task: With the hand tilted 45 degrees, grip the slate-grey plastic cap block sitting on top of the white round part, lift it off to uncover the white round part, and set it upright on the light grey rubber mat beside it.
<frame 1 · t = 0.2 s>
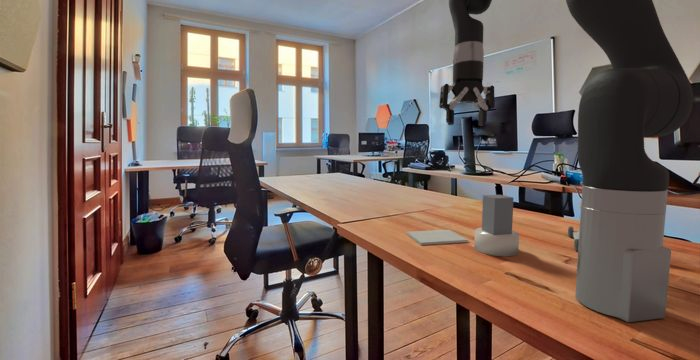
hand: (466, 125, 88), 29 cm above the table, tool pointing down, fingers open, 8 cm apart
cap block: (496, 232, 73), point 4 cm above the table, touching white round part
rubber mat: (435, 237, 83), on the table
white round part: (495, 249, 74), on the table
toy car: (600, 247, 77), on the table
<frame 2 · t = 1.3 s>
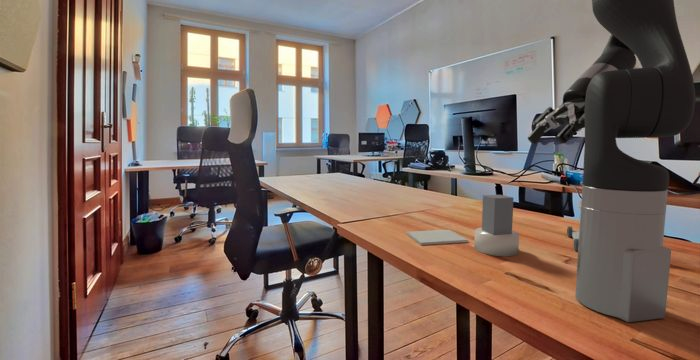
hand: (544, 140, 73), 24 cm above the table, tool tilted 45°, fingers open, 8 cm apart
nothing on the table moved.
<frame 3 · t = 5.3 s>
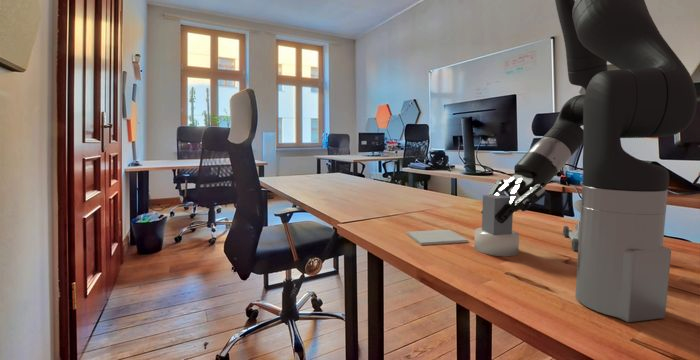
hand: (491, 217, 73), 7 cm above the table, tool tilted 45°, fingers closed on cap block, 4 cm apart
cap block: (496, 232, 73), point 4 cm above the table, touching white round part, gripper
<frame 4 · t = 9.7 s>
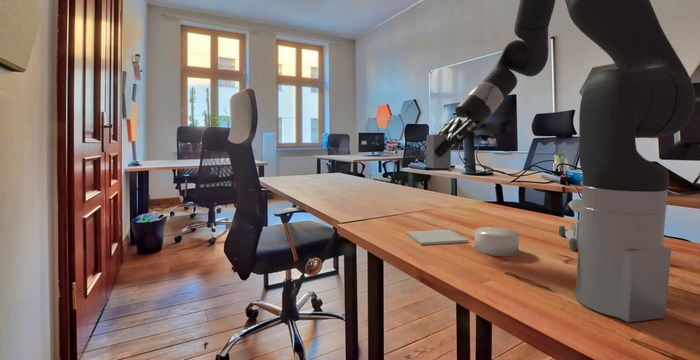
hand: (432, 154, 81), 21 cm above the table, tool tilted 45°, fingers closed on cap block, 4 cm apart
cap block: (438, 167, 82), point 18 cm above the table, touching gripper
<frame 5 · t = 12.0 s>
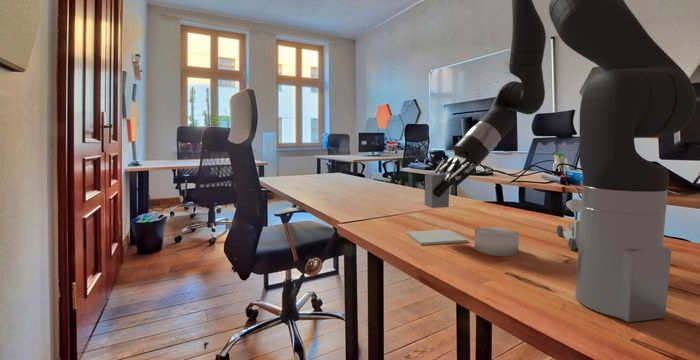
hand: (431, 193, 82), 11 cm above the table, tool tilted 45°, fingers closed on cap block, 4 cm apart
cap block: (436, 205, 83), point 8 cm above the table, touching gripper
when the fingers open (5 cm above the table, at t = 13.9 s): cap block drops 1 cm, resting on rubber mat.
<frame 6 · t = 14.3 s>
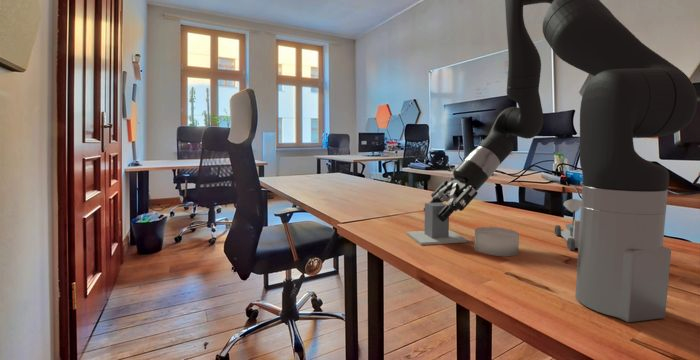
hand: (432, 215, 83), 6 cm above the table, tool tilted 45°, fingers open, 7 cm apart
cap block: (436, 235, 83), point 1 cm above the table, touching rubber mat
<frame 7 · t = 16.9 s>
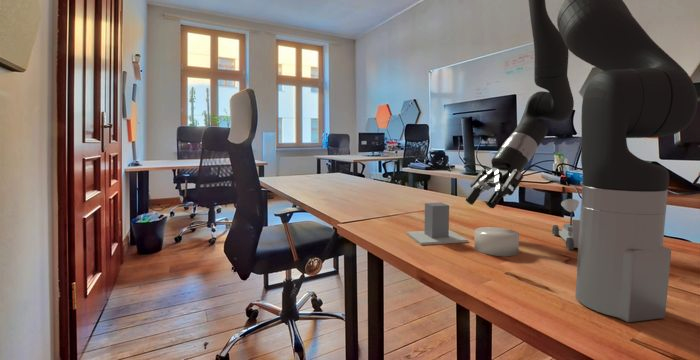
hand: (478, 204, 83), 8 cm above the table, tool tilted 40°, fingers open, 8 cm apart
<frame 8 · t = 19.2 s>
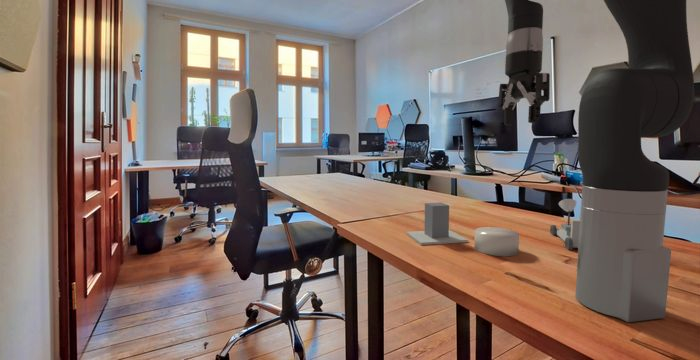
hand: (520, 124, 78), 28 cm above the table, tool pointing down, fingers open, 8 cm apart
at the end: cap block inside the target area on the rubber mat (0.1 cm from its centre), point 0.6 cm above the rubber mat's base; cap block tilted 0°; cap block touching rubber mat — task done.
